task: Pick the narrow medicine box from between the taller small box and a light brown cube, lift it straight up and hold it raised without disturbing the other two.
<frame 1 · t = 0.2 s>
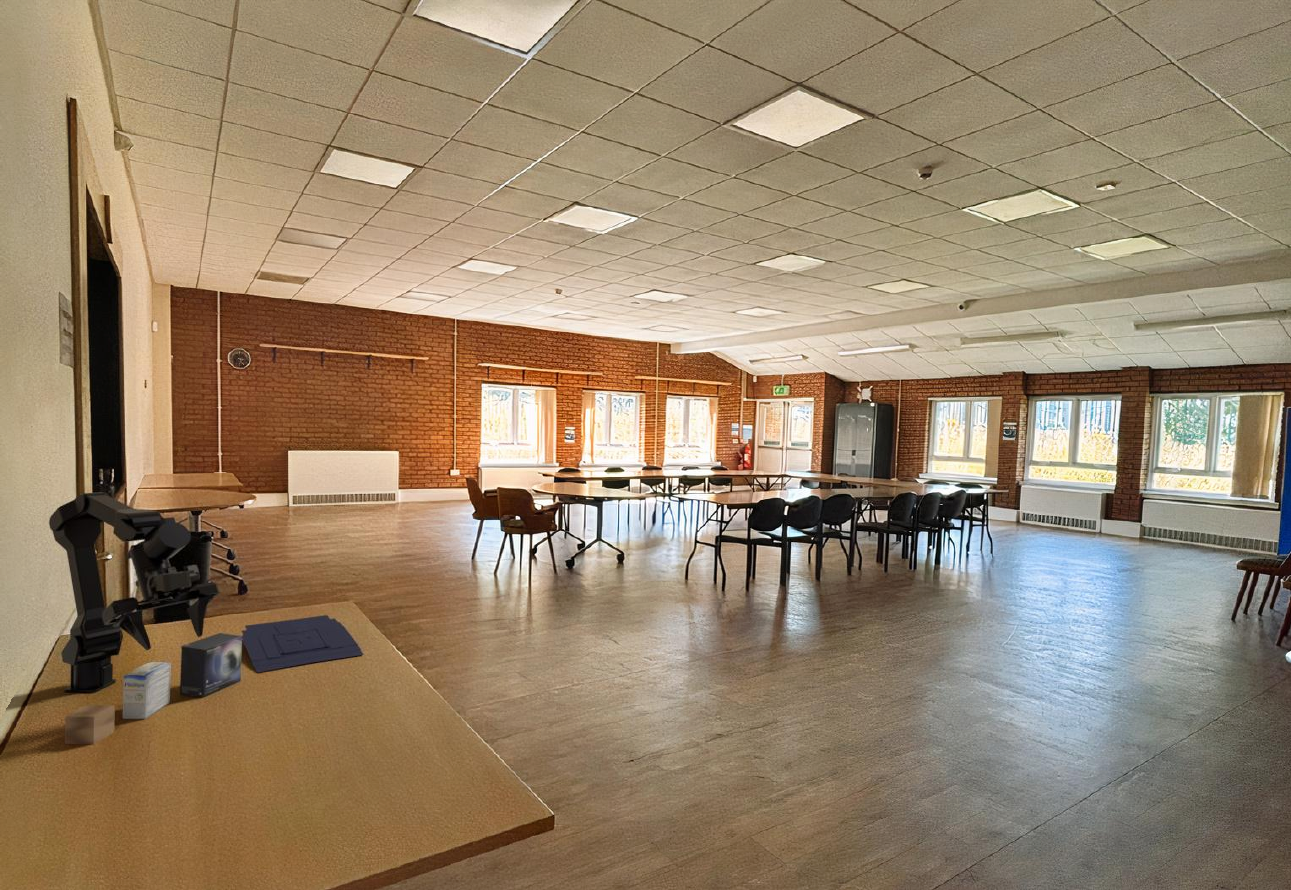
hand: (175, 642, 135), 15 cm above the table, fingers open, 9 cm apart
medicine box: (146, 712, 138), on the table
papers: (299, 649, 179), on the table
small box: (211, 688, 151), on the table
light brown cube: (90, 738, 126), on the table
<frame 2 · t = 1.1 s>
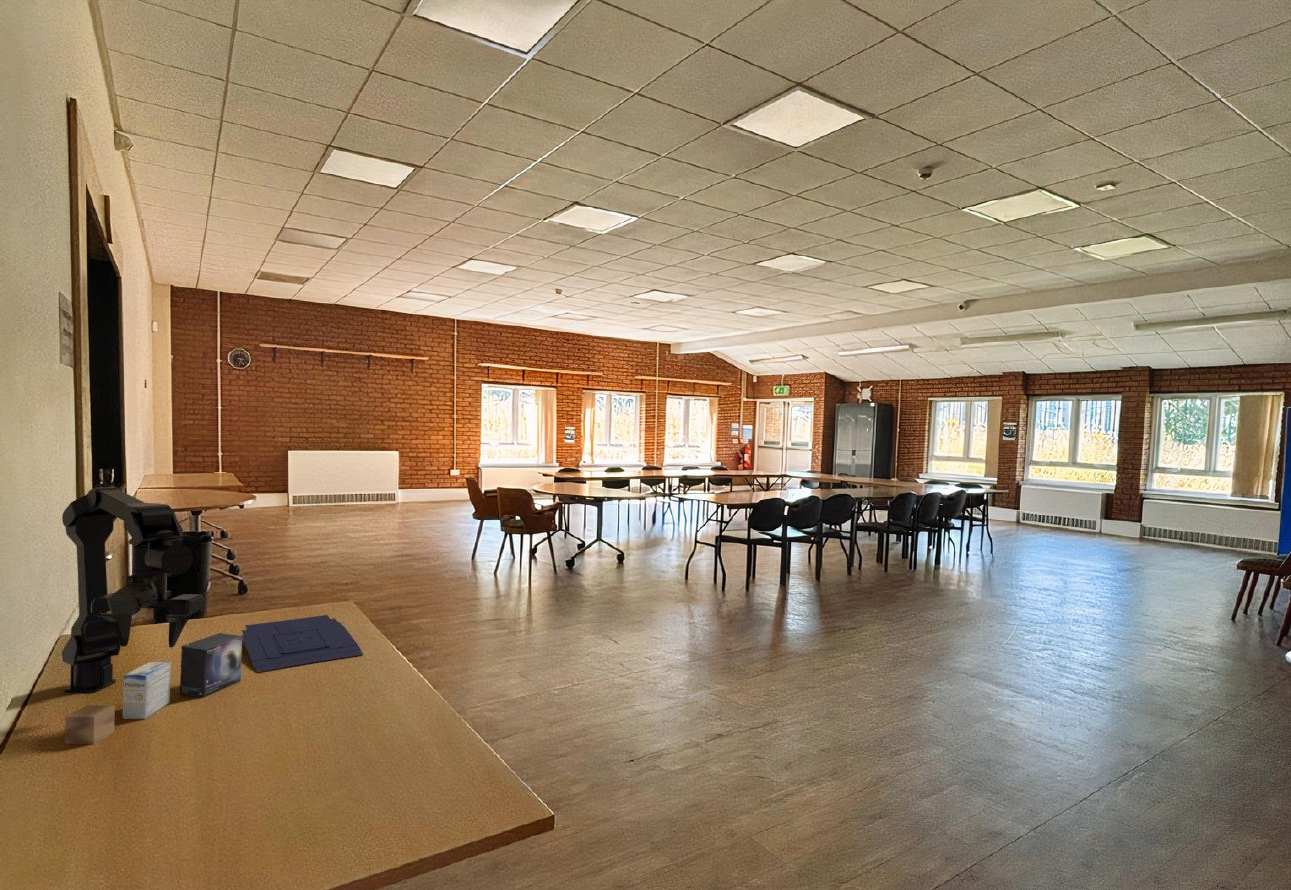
hand: (148, 646, 138), 13 cm above the table, fingers open, 9 cm apart
nothing on the table moved.
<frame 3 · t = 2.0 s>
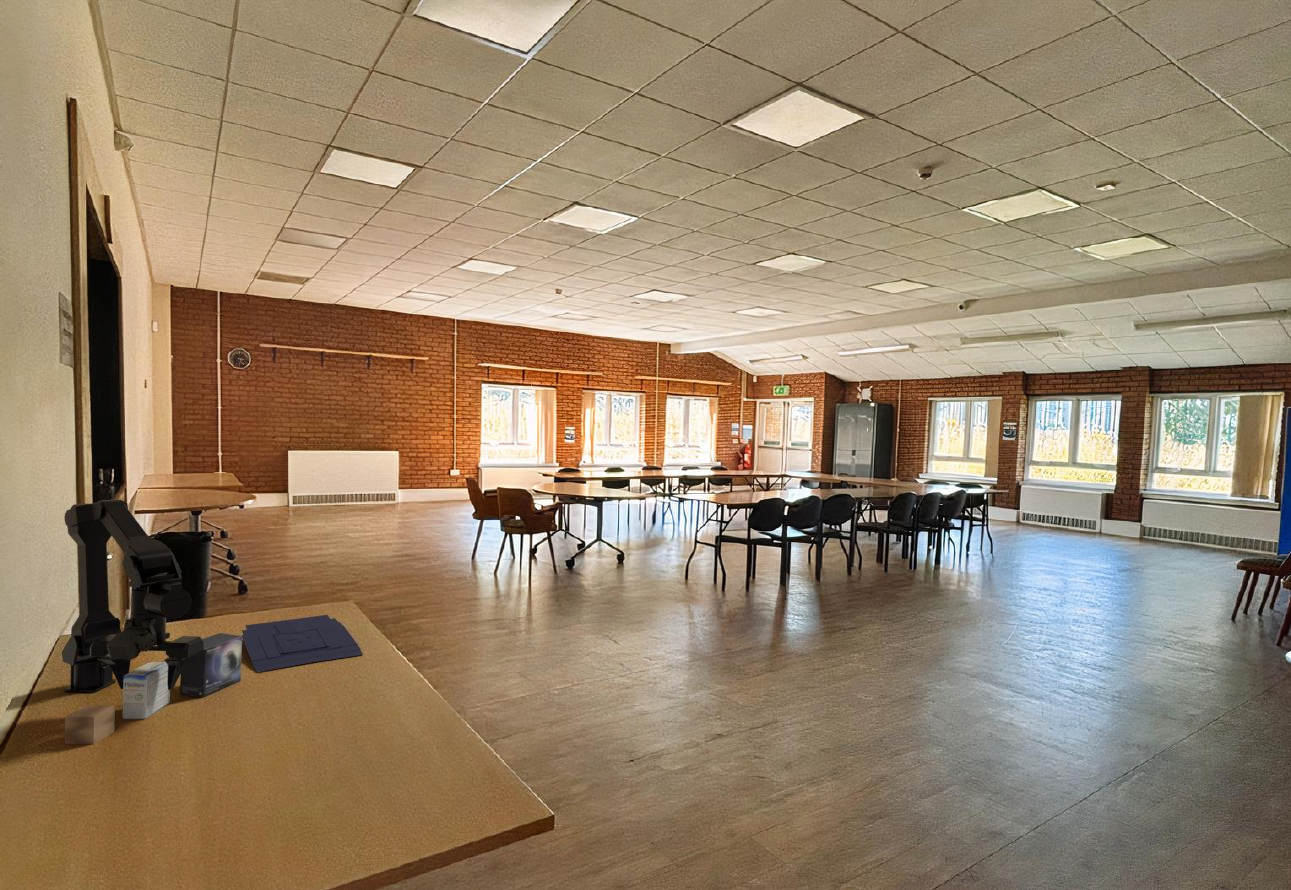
hand: (147, 688, 138), 4 cm above the table, fingers open, 9 cm apart
nothing on the table moved.
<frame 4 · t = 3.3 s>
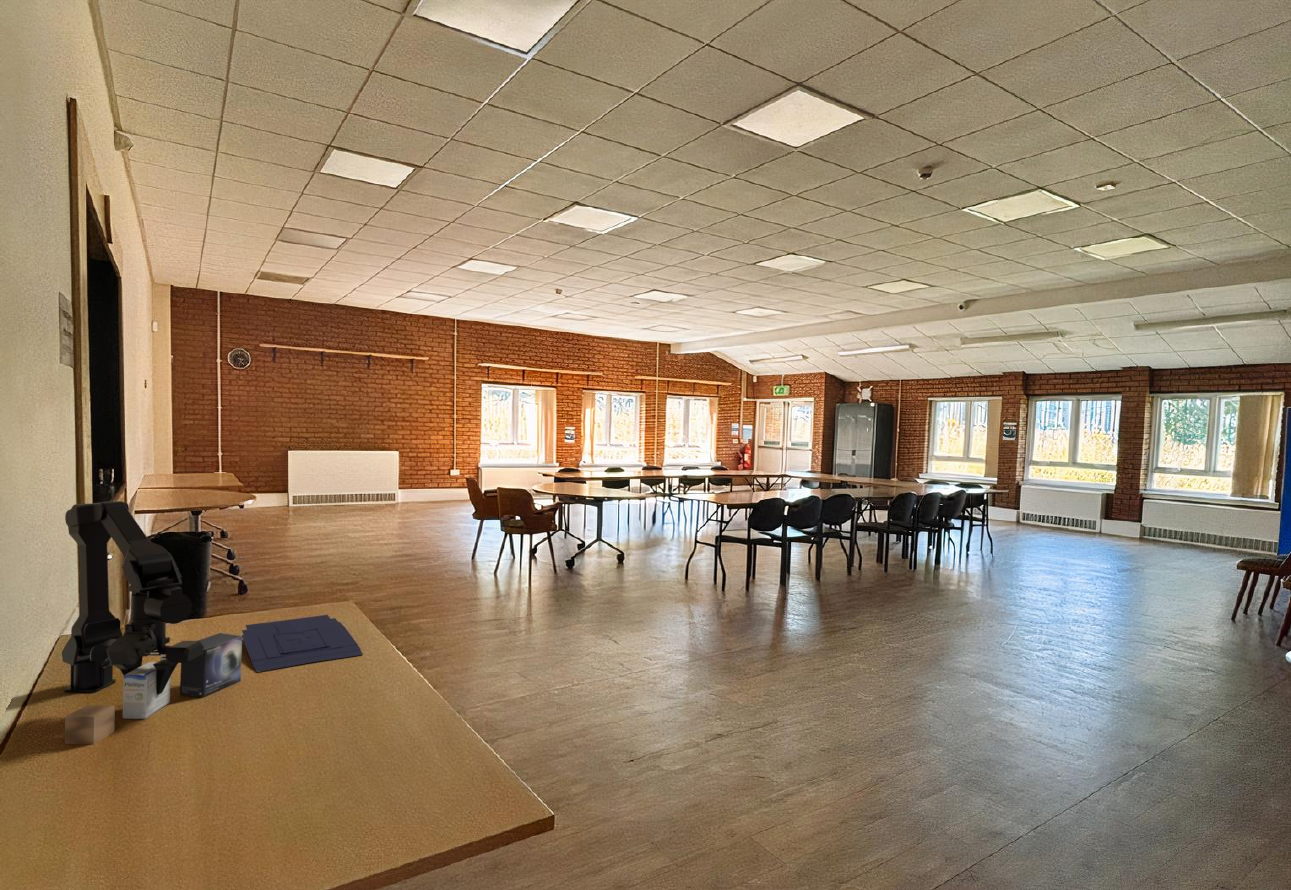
hand: (147, 693, 138), 4 cm above the table, fingers closed on medicine box, 4 cm apart
medicine box: (146, 712, 138), on the table, touching gripper
everything else where it was.
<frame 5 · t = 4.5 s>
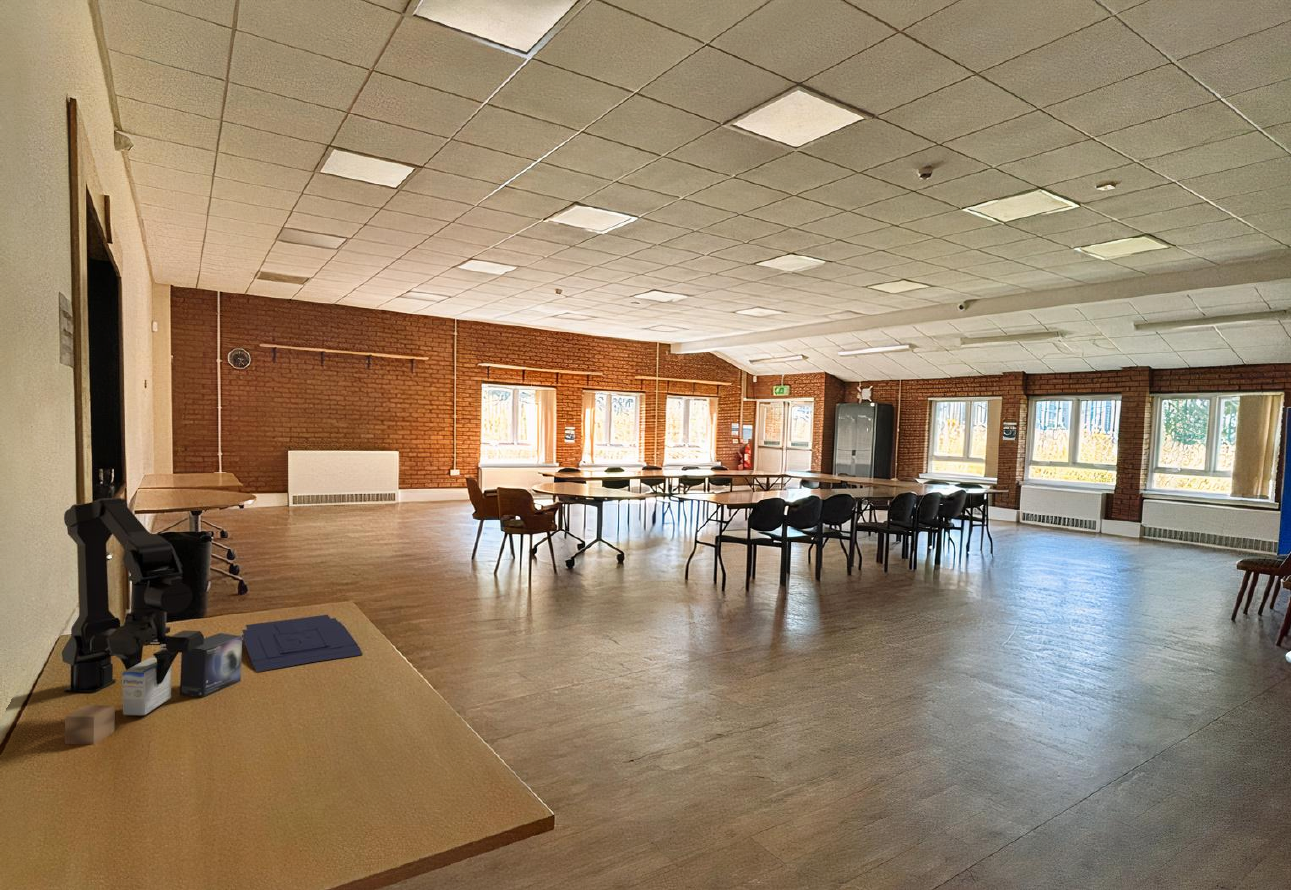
hand: (147, 683, 138), 6 cm above the table, fingers closed on medicine box, 4 cm apart
medicine box: (147, 707, 138), point 1 cm above the table, touching gripper
everything else where it was.
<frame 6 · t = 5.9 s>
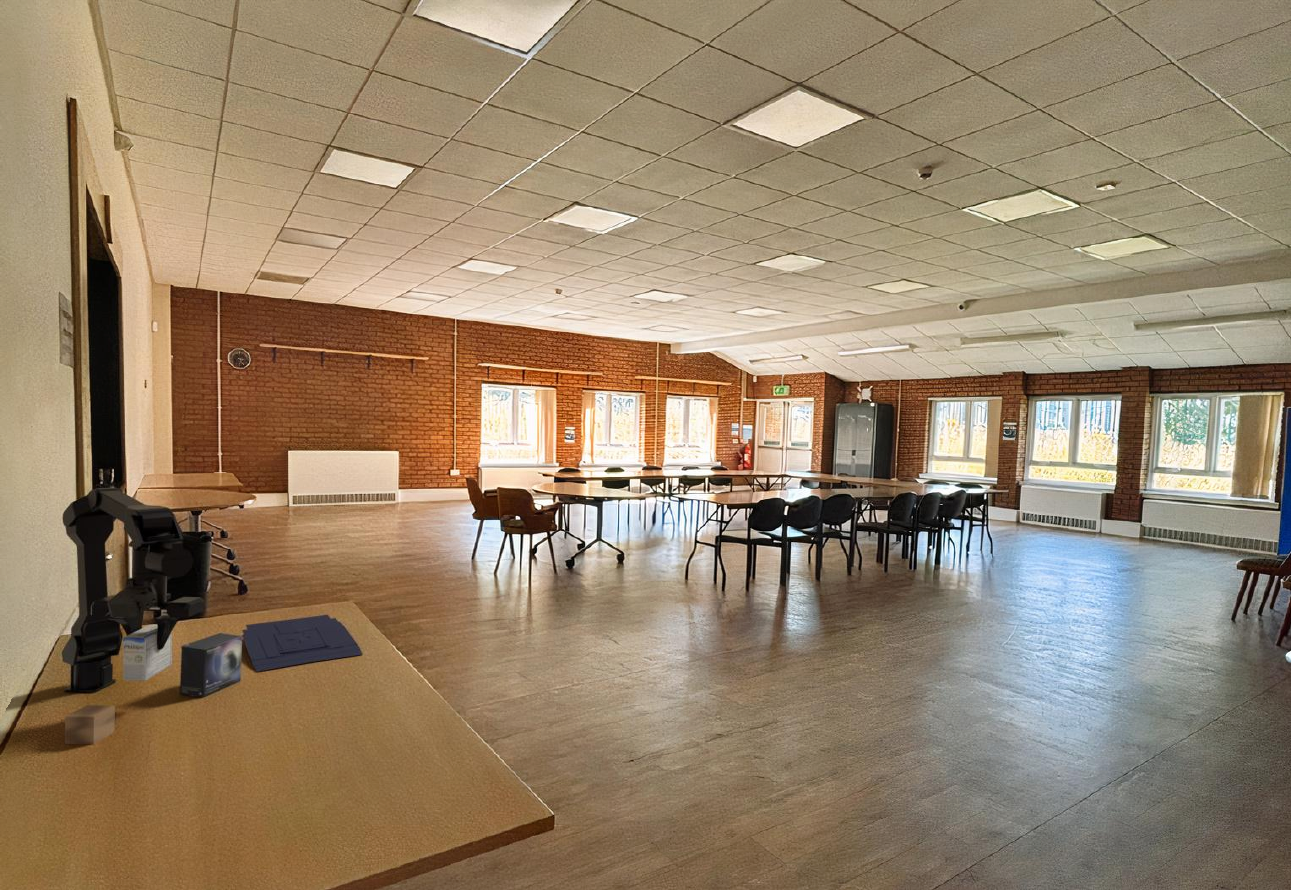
hand: (148, 649, 138), 12 cm above the table, fingers closed on medicine box, 4 cm apart
medicine box: (148, 674, 138), point 7 cm above the table, touching gripper
everything else where it was.
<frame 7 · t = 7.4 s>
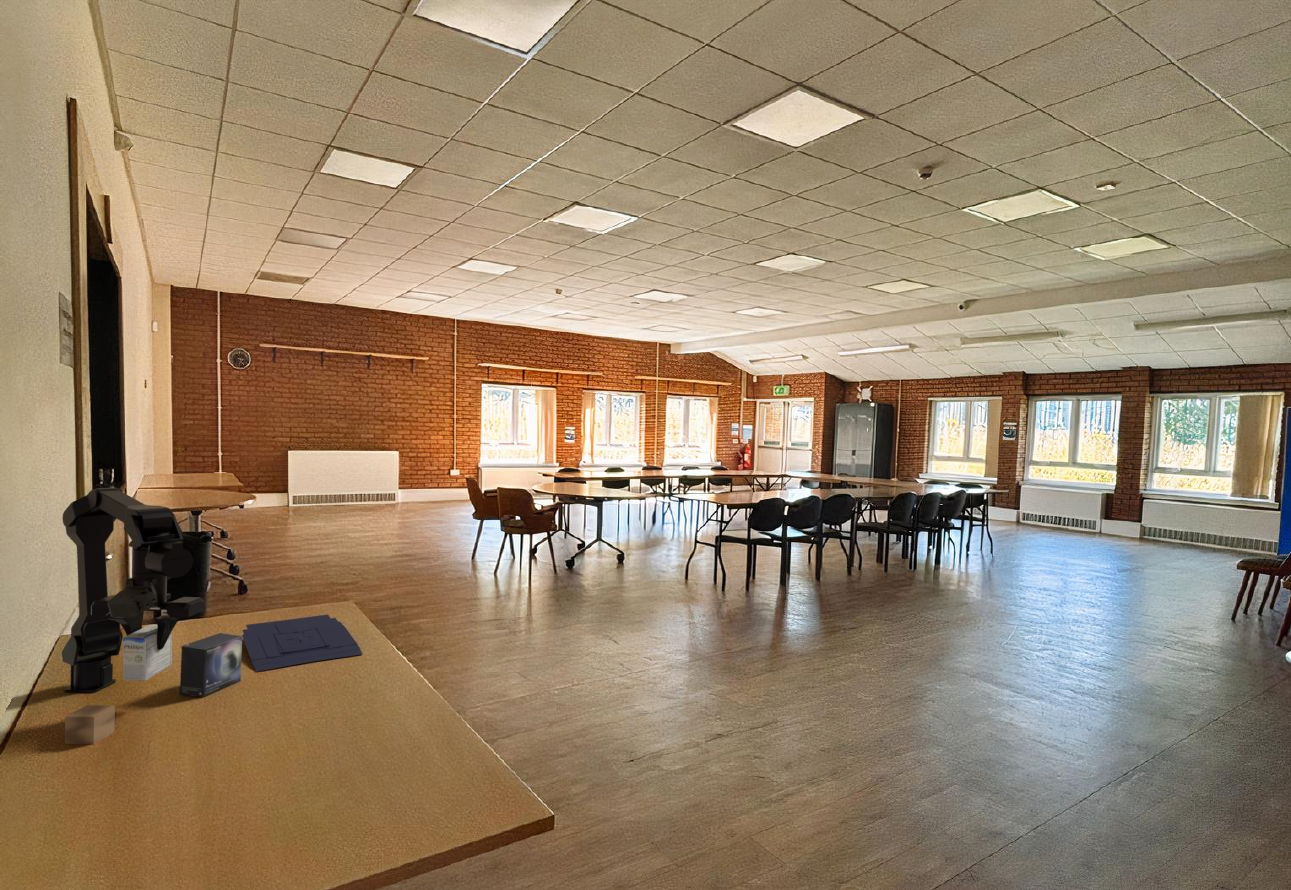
hand: (148, 649, 138), 12 cm above the table, fingers closed on medicine box, 4 cm apart
medicine box: (148, 674, 138), point 7 cm above the table, touching gripper
everything else where it was.
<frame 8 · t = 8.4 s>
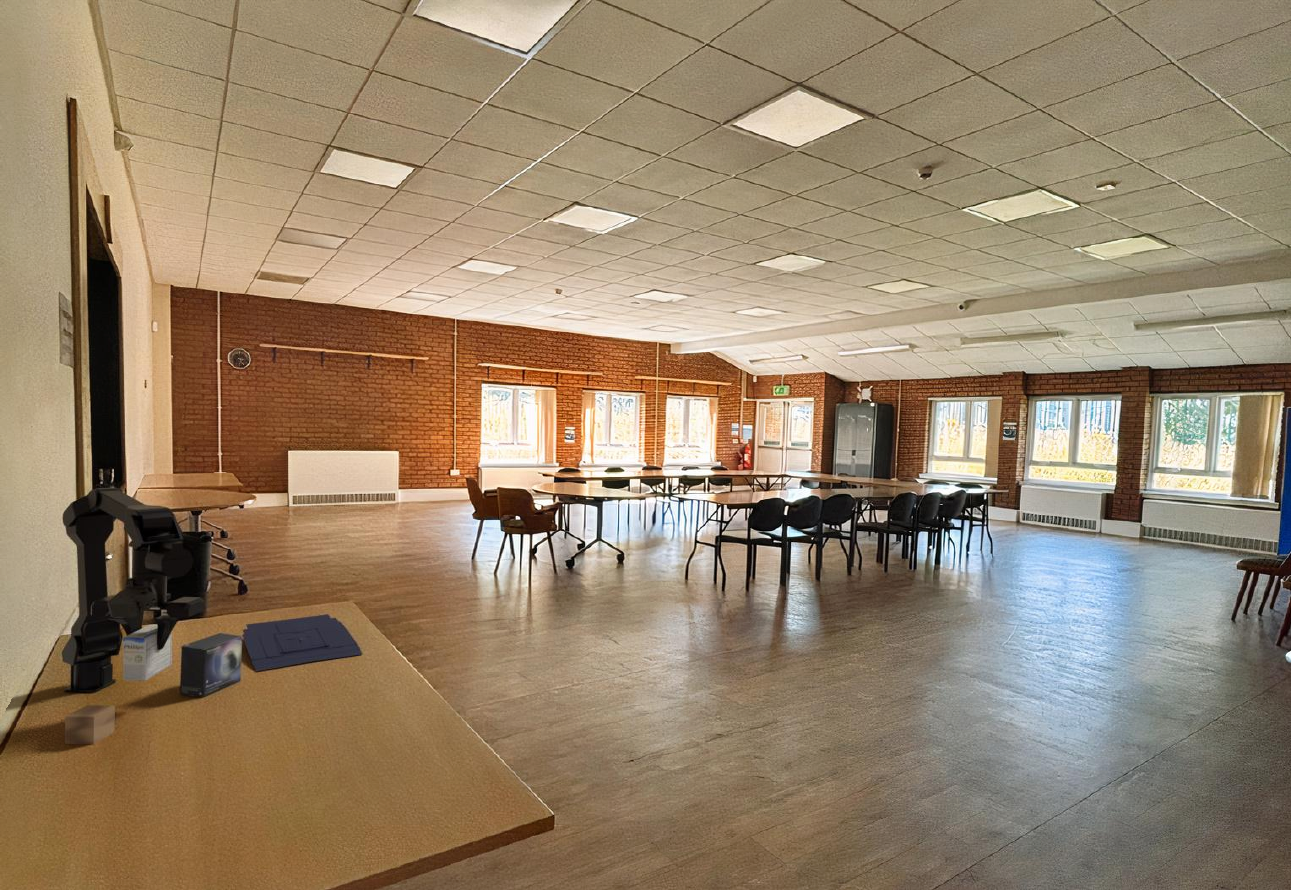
hand: (148, 649, 138), 12 cm above the table, fingers closed on medicine box, 4 cm apart
medicine box: (148, 674, 138), point 7 cm above the table, touching gripper
everything else where it was.
at the end: the gripper is holding medicine box; medicine box point 7.3 cm above the table; small box moved 0.3 cm from its start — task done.
